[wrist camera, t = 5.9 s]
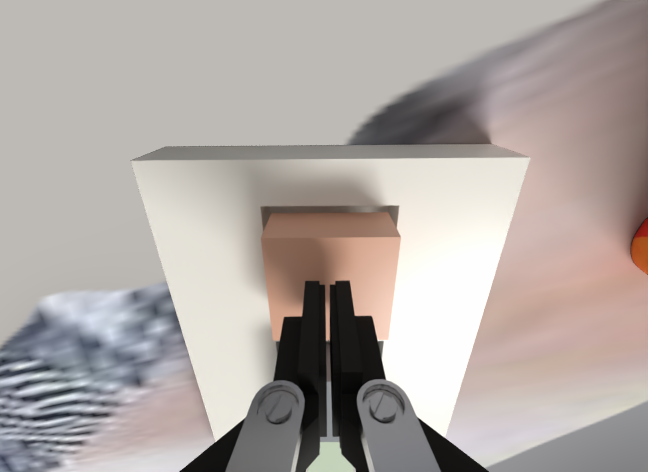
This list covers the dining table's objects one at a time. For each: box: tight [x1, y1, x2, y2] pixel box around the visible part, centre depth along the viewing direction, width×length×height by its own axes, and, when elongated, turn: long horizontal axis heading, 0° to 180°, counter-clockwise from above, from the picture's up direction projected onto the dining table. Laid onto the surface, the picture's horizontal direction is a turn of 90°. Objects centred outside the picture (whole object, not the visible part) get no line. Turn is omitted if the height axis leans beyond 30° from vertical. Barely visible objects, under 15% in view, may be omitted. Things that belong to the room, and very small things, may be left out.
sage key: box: [308, 442, 353, 472], centre depth 22 cm, size 5×5×2 cm
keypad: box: [131, 144, 530, 442], centre depth 19 cm, size 16×26×3 cm, turn 0°
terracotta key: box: [261, 212, 401, 340], centre depth 13 cm, size 5×5×2 cm
